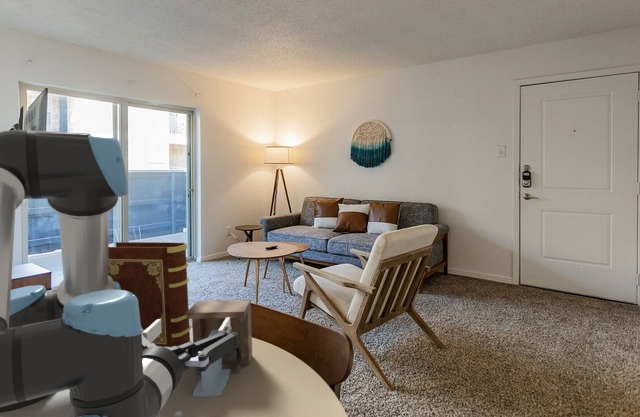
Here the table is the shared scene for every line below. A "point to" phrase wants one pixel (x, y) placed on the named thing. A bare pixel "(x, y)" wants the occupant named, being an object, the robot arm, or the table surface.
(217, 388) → the bookend
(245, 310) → the cubby
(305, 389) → the table surface
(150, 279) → the decorative book
